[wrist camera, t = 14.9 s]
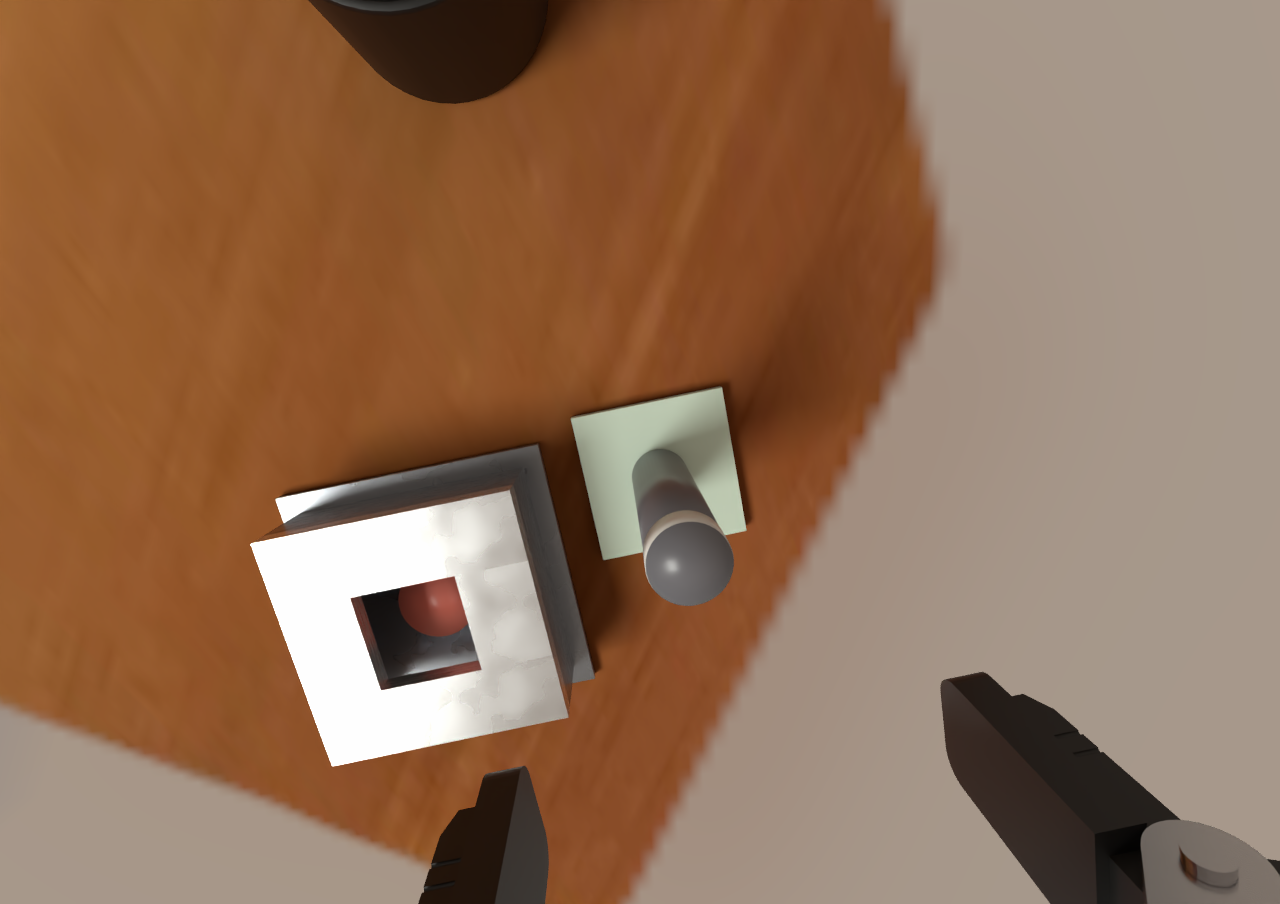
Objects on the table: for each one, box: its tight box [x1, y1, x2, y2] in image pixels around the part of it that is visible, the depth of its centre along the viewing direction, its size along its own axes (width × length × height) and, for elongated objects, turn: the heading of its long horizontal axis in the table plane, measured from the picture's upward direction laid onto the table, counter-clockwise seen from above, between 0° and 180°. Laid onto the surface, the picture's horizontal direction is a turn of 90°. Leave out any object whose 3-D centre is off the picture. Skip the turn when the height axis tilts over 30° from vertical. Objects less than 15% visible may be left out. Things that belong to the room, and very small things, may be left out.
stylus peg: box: [632, 449, 734, 606], centre depth 26 cm, size 3×3×12 cm
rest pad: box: [571, 386, 747, 560], centre depth 33 cm, size 8×8×1 cm
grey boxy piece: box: [251, 443, 595, 766], centre depth 31 cm, size 14×14×5 cm
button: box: [398, 576, 468, 637], centre depth 33 cm, size 4×4×1 cm
